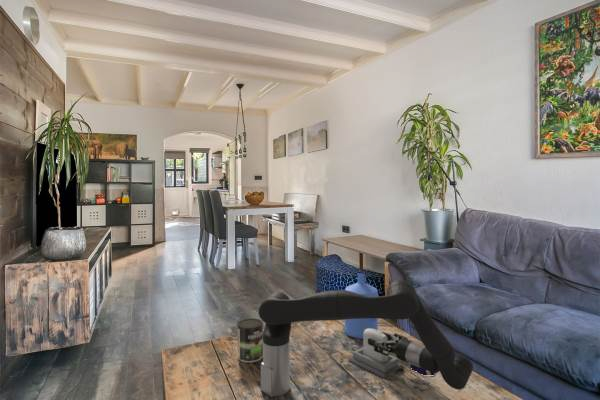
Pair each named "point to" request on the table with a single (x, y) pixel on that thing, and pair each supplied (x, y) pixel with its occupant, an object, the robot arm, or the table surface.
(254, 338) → the coffee can
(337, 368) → the table surface
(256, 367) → the table surface
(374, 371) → the dock
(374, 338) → the photo printer
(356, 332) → the water jug
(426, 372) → the computer mouse
